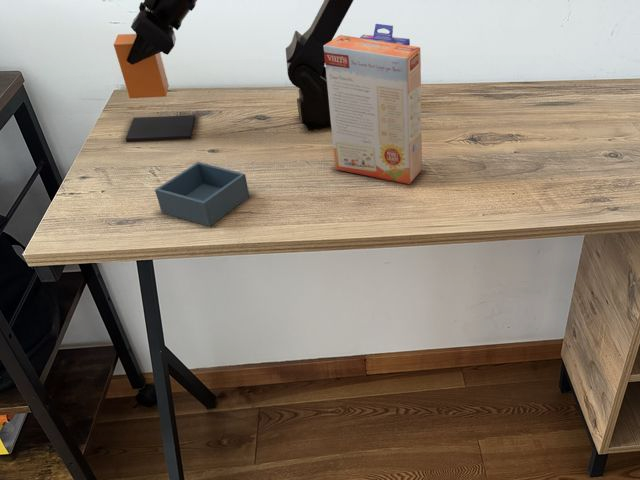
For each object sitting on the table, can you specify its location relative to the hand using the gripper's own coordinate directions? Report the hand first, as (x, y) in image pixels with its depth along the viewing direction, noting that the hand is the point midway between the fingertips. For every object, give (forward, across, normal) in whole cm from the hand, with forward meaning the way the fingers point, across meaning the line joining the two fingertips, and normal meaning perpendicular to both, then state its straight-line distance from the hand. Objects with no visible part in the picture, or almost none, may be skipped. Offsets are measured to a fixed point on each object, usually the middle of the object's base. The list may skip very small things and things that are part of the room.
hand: (131, 56), depth 116 cm
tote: (+2, +28, +17) cm, 33 cm away
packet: (+3, 0, +5) cm, 6 cm away
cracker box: (-18, +21, +37) cm, 46 cm away
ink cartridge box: (-21, -8, +41) cm, 47 cm away
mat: (+8, -1, +11) cm, 14 cm away
